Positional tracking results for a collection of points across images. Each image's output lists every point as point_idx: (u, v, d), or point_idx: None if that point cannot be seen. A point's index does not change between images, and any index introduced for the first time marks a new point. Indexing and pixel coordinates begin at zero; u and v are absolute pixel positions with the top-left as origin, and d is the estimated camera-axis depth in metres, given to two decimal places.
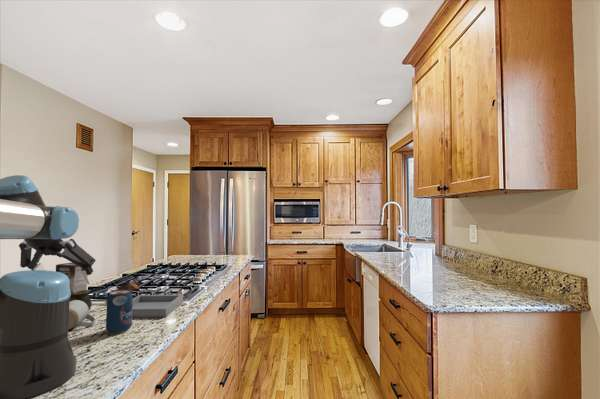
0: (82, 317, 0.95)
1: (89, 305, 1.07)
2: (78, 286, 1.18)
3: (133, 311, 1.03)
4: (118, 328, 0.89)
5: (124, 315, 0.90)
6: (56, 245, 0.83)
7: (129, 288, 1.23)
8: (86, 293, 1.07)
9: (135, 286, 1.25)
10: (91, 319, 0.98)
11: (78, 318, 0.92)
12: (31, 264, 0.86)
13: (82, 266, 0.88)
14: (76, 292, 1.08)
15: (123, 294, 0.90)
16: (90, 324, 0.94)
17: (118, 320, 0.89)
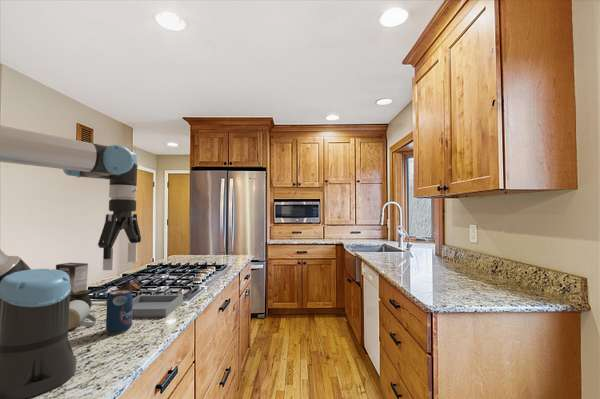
0: (83, 317, 0.95)
1: (89, 305, 1.07)
2: (78, 286, 1.18)
3: (133, 311, 1.03)
4: (118, 328, 0.89)
5: (124, 315, 0.90)
6: None
7: (130, 288, 1.23)
8: (86, 293, 1.07)
9: (136, 286, 1.25)
10: (92, 319, 0.98)
11: (79, 318, 0.92)
12: None
13: None
14: (76, 292, 1.08)
15: (123, 294, 0.90)
16: (91, 324, 0.95)
17: (118, 320, 0.89)
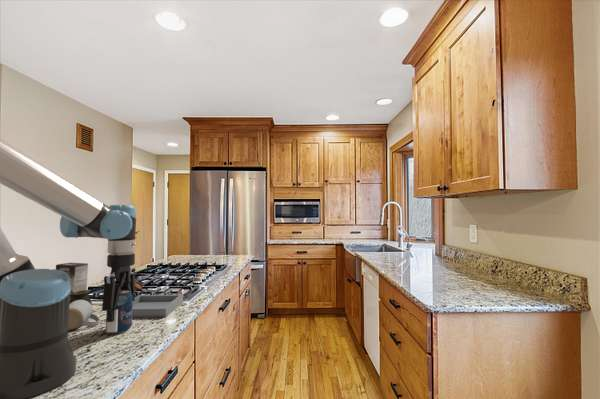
0: (86, 317, 0.95)
1: None
2: (78, 286, 1.18)
3: (133, 311, 1.03)
4: (118, 328, 0.89)
5: (124, 315, 0.90)
6: None
7: None
8: (86, 293, 1.07)
9: (138, 286, 1.25)
10: (95, 319, 0.98)
11: (82, 318, 0.92)
12: None
13: None
14: (76, 292, 1.08)
15: (123, 294, 0.90)
16: (94, 324, 0.95)
17: (118, 320, 0.89)
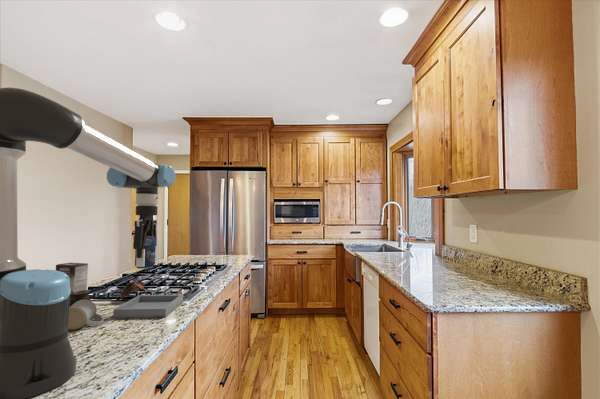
0: (90, 316, 0.95)
1: None
2: (78, 286, 1.18)
3: (133, 311, 1.03)
4: (145, 264, 1.09)
5: (150, 254, 1.11)
6: None
7: (134, 288, 1.22)
8: (86, 293, 1.07)
9: (140, 286, 1.25)
10: (99, 318, 0.98)
11: (86, 317, 0.93)
12: None
13: None
14: (76, 292, 1.08)
15: (149, 237, 1.11)
16: (98, 323, 0.95)
17: (145, 257, 1.10)
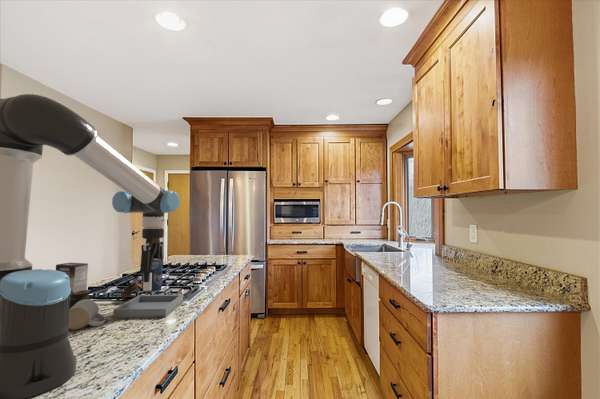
0: (92, 316, 0.95)
1: None
2: (78, 286, 1.18)
3: (133, 311, 1.03)
4: (152, 287, 1.09)
5: (157, 277, 1.10)
6: None
7: (136, 288, 1.22)
8: (86, 293, 1.07)
9: None
10: (101, 318, 0.99)
11: (88, 317, 0.93)
12: None
13: None
14: (76, 292, 1.08)
15: (155, 260, 1.11)
16: (100, 323, 0.95)
17: (152, 281, 1.09)
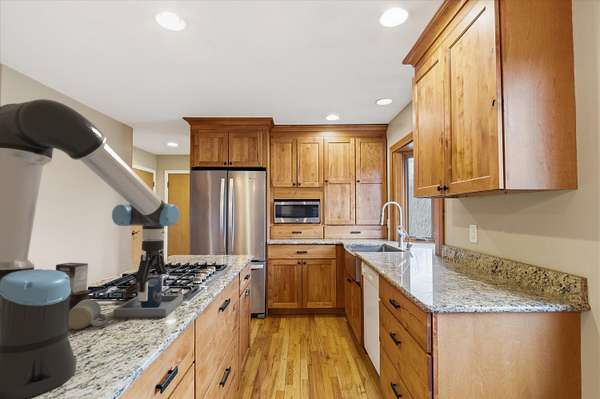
0: (94, 316, 0.96)
1: None
2: (78, 286, 1.18)
3: (133, 311, 1.03)
4: (151, 305, 1.09)
5: (156, 294, 1.10)
6: None
7: (137, 289, 1.22)
8: (86, 293, 1.07)
9: None
10: (103, 318, 0.99)
11: (90, 317, 0.93)
12: None
13: None
14: (76, 292, 1.08)
15: (155, 277, 1.10)
16: (102, 323, 0.95)
17: (151, 298, 1.09)
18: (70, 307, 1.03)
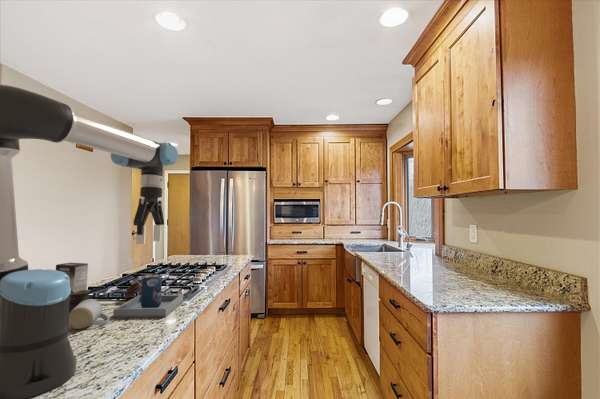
0: (96, 316, 0.96)
1: None
2: (78, 286, 1.18)
3: (133, 311, 1.03)
4: (151, 305, 1.09)
5: (156, 294, 1.10)
6: None
7: (139, 289, 1.22)
8: (86, 293, 1.07)
9: None
10: (105, 318, 0.99)
11: (92, 317, 0.93)
12: None
13: None
14: (76, 292, 1.08)
15: (155, 277, 1.10)
16: (104, 323, 0.96)
17: (151, 298, 1.09)
18: (70, 307, 1.03)
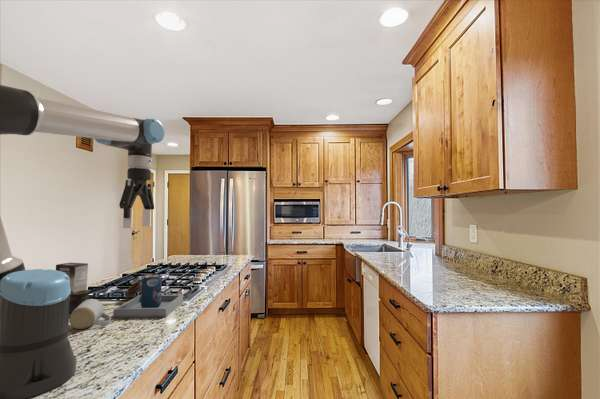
0: (98, 316, 0.96)
1: None
2: (78, 286, 1.18)
3: (133, 311, 1.03)
4: (151, 305, 1.09)
5: (156, 294, 1.10)
6: None
7: (140, 289, 1.22)
8: (86, 293, 1.07)
9: None
10: (106, 318, 0.99)
11: (94, 317, 0.93)
12: None
13: None
14: (76, 292, 1.08)
15: (155, 277, 1.10)
16: (106, 323, 0.96)
17: (151, 298, 1.09)
18: (70, 307, 1.03)
